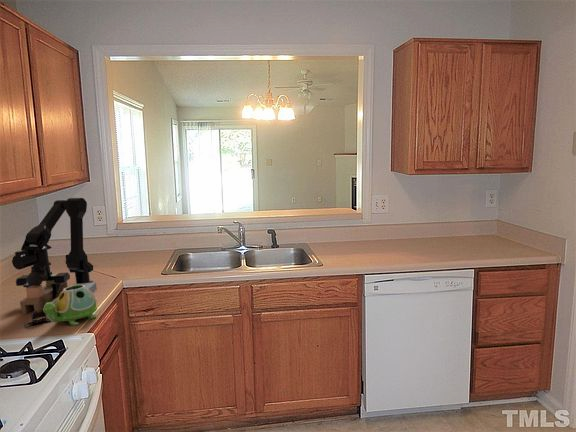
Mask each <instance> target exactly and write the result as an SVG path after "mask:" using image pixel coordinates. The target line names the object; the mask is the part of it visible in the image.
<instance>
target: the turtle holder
mask: <svg viewBox="0 0 576 432" xmlns="http://www.w3.org/2000/svg"><path fill="white" fill-rule="evenodd" d="M73 285H74V284H73ZM70 289H74V290H70ZM55 310H56V312H55ZM97 310H98V306H97V299H96V295H94V292H93V293H92V292H91V290H89V289H88V288H86V287H85V285H81V284H79V285H74V286H72V285H71V286H68V287H67V288H64V289H63V291H62V292H61V293H60V295H59V297H58V299H57V302H56V308H55V305H54V304H53V303H52V302H48V303H46V304H45V306H44V308H43V312H44V313H46V318H48V319H49V320H50V321H52V322H51V323H60V322H68V323H69V324H70V325H71V326H79V324H80V323H79V322H78V321H76V320H80V319H83V318H86V317H88V318H87V319H89V320H91V319H92V320H93V319H96V318H97V315H96V314H94V313H95V312H96V311H97Z"/></svg>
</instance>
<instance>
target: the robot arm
mask: <svg viewBox="0 0 576 432" xmlns="http://www.w3.org/2000/svg"><path fill="white" fill-rule="evenodd" d="M87 207H88V203H87V200H86V199H85V198H83V197H69V198H67V199H58V200H57V199H56V200H54V202H53V205H52V206H51V207H50V209H49V210H48V212H47V214H46V215H45V216H44V217H43V219H42V220H41V221H40V223H39V224H38V225H36V226H34V227H33V228H31V229H30V230H29V231H28V232H27V234H26V235H25V239H24V241H23V244H22V246H21V249H20V250H19V251H18V250H17V251H15V252H14V255H13V256H12V260H11V262H12V266H13V267H14V268H15V270H16V269H17V270H23V269H26V268H29V267H31V268H30V273H28V274H22V275H21V276H19V277H17V278H16V280H15V286H16V287H19V286H20V287H21V286H22V287H23V288H26V289H27V288H28V287H30V286H32V285H37V286H38V285H42V284H43V282H46V281H53V283H52V284H51V286H52V289H53V297H54V299H55V298H56V296H57V293H58V290H59V287H60V285H61V283H64V282H66V281H67V282H68V281H69V280H71V276H70V274H71V273H74V276H75V277H74V278H75V284H76V283H78V284H80V283H94V281H93V280H91V278H90V273H92V272H93V271H94V265H93V264H92V263H91V262H90V261H89V259H88V254H87V253H86V252H85V250H84V230H83V229H84V226H83V225H84V223H83V220H84V217H85V215H86V213H87ZM65 212H66V214H67V215H68V217H69V224H70V225H69V226H70V227H69V229H70V232H69V233H70V252H68V254H66V255H65V265H66V268H67V269H68V271H69V272H59V273H56V274H57V275H55V276H51V275H52V274H53V272H52V271H51V265H52V263H51V262H50V260H49V254H48V250H50V249H52V245H51V246H50V245H49V244H48V243H49V241H50V239H51V237H52V230H53V228H54V227H55V226H56V225H57V223H58V222H59V221H60V218H61V217H62V215H63V214H64V213H65Z"/></svg>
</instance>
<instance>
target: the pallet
mask: <svg viewBox="0 0 576 432" xmlns="http://www.w3.org/2000/svg"><path fill="white" fill-rule="evenodd" d="M67 287H69V286H68V280H67V281H66V282H64V283H61V285H60V287H59V290H58V293H57V296H56V298H57V297H58V296H59V295H60V293H61V292H62V291H63V289H64V288H67ZM42 289H43V295H42V296H41V297H39V298H34V299H27V297H25V298H23V299H22V300H20V302H19V303H20V309H21V314H22V315H27V314H28V313H29V312H31V311H37V312H39V310H42V309H43V308H44V306H45V304H46V303H48V302H52V301H53V300H55V299H56V298H55V299H54V297H53V289H52V286H47V287H46V284H45V285H44V286H42Z"/></svg>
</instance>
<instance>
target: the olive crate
mask: <svg viewBox="0 0 576 432" xmlns="http://www.w3.org/2000/svg"><path fill="white" fill-rule="evenodd" d="M57 274H58V273H52V275H51V276H55V275H57ZM52 283H53V281H45V285H46V287H47V286H51V284H52Z"/></svg>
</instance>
